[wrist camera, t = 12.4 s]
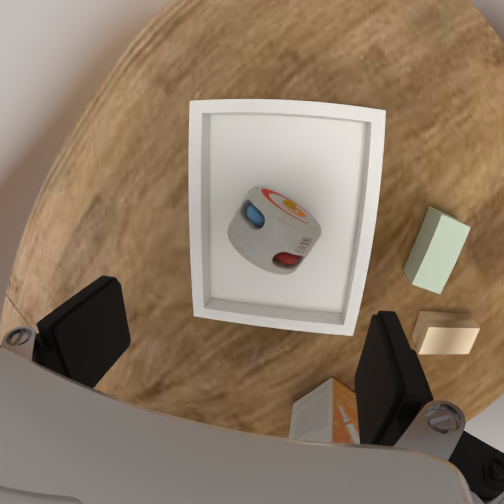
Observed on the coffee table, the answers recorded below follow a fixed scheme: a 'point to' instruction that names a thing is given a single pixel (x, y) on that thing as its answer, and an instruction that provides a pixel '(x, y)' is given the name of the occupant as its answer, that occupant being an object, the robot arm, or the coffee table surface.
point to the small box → (326, 415)
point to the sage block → (435, 250)
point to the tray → (296, 189)
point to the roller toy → (273, 231)
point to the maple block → (444, 333)
